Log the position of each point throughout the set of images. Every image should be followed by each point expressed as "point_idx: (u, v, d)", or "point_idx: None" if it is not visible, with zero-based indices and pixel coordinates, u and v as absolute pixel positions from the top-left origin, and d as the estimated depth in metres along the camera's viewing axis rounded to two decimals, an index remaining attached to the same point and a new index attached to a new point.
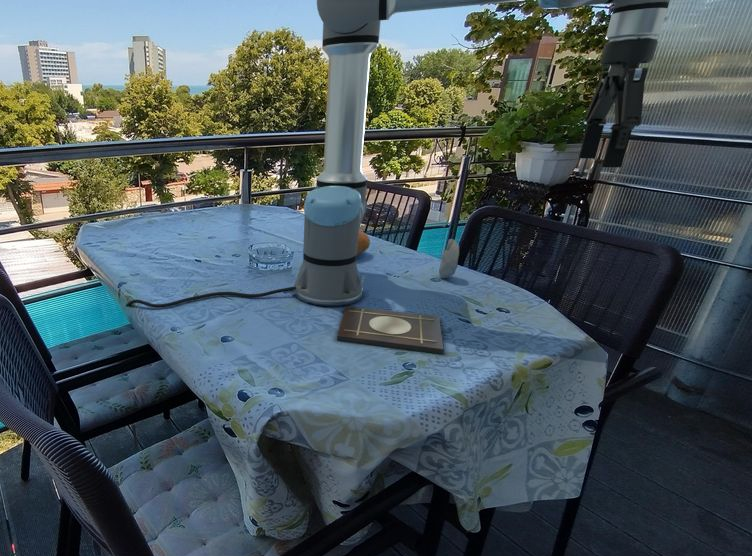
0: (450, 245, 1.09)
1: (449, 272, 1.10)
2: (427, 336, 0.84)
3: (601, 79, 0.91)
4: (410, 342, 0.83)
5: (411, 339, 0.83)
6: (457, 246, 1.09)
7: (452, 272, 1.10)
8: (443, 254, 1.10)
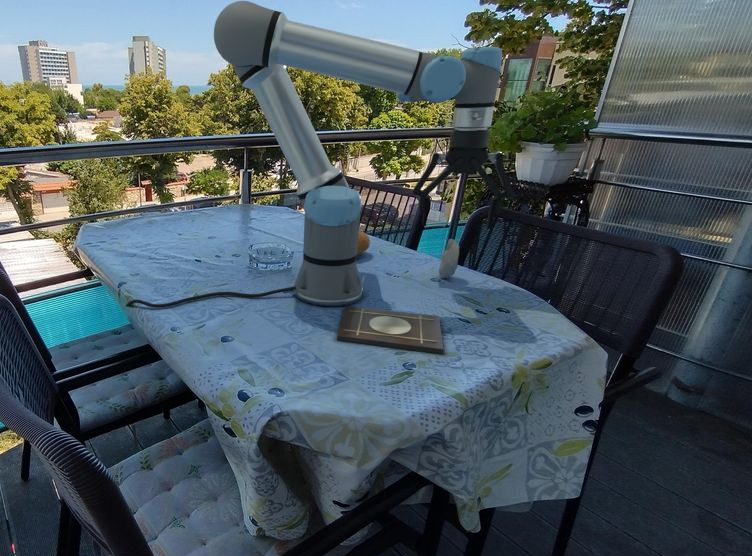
0: (450, 245, 1.09)
1: (449, 272, 1.10)
2: (427, 336, 0.84)
3: None
4: (410, 342, 0.83)
5: (411, 339, 0.83)
6: (457, 246, 1.09)
7: (452, 272, 1.10)
8: (443, 254, 1.10)
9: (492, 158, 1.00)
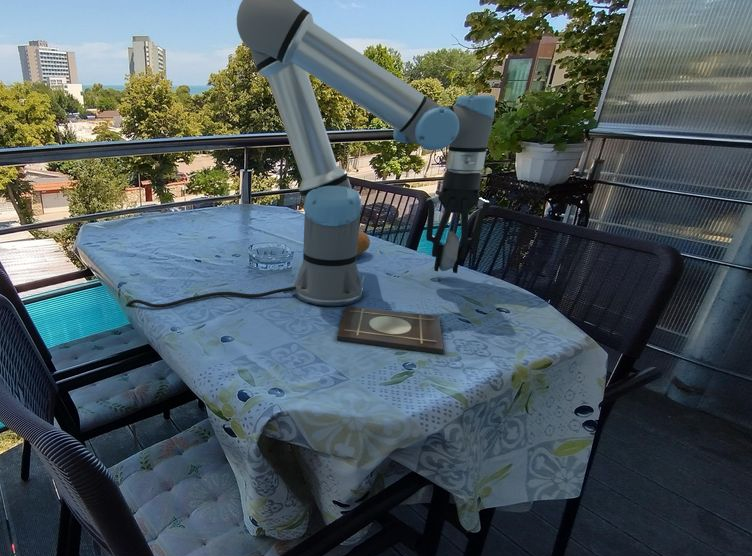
0: (450, 237, 1.08)
1: (448, 264, 1.10)
2: (427, 336, 0.84)
3: None
4: (410, 342, 0.83)
5: (411, 339, 0.83)
6: (457, 238, 1.08)
7: (452, 265, 1.09)
8: (443, 246, 1.10)
9: (480, 204, 1.04)
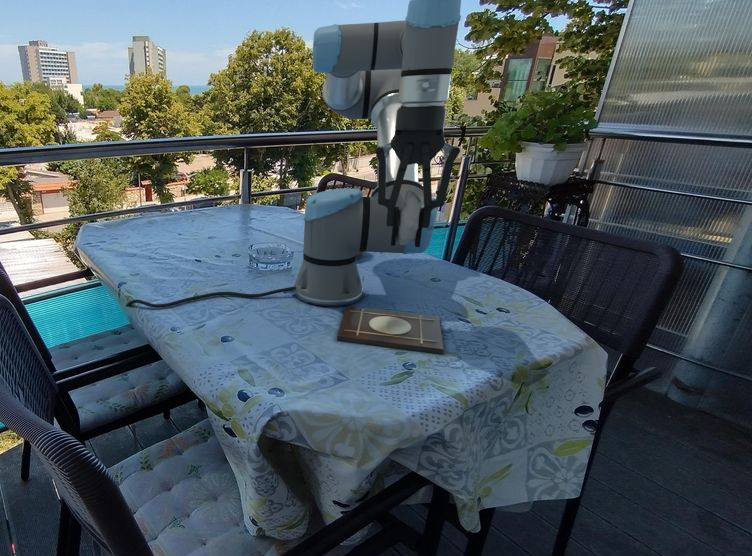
0: (408, 199, 0.80)
1: (408, 235, 0.82)
2: (427, 336, 0.84)
3: None
4: (410, 342, 0.83)
5: (411, 339, 0.83)
6: (418, 200, 0.80)
7: (412, 236, 0.82)
8: (400, 212, 0.82)
9: (446, 150, 0.76)
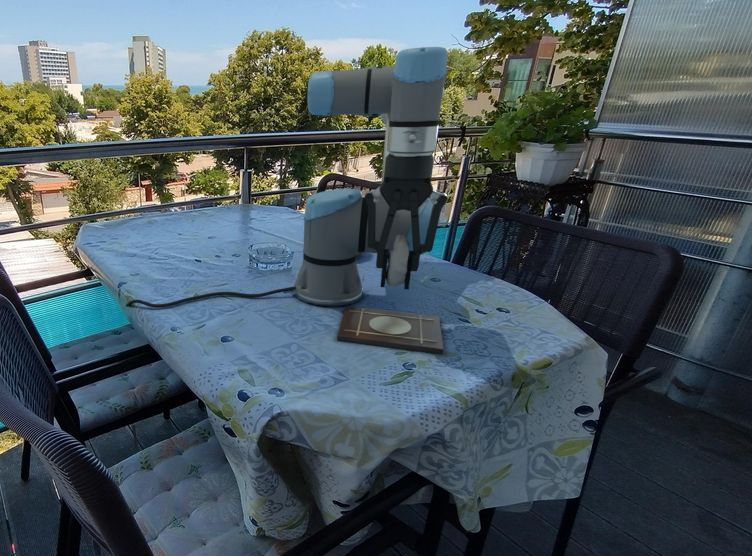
0: (397, 243, 0.82)
1: (397, 278, 0.83)
2: (427, 336, 0.84)
3: None
4: (410, 342, 0.83)
5: (411, 339, 0.83)
6: (406, 244, 0.82)
7: (401, 279, 0.83)
8: (389, 255, 0.83)
9: (434, 197, 0.77)
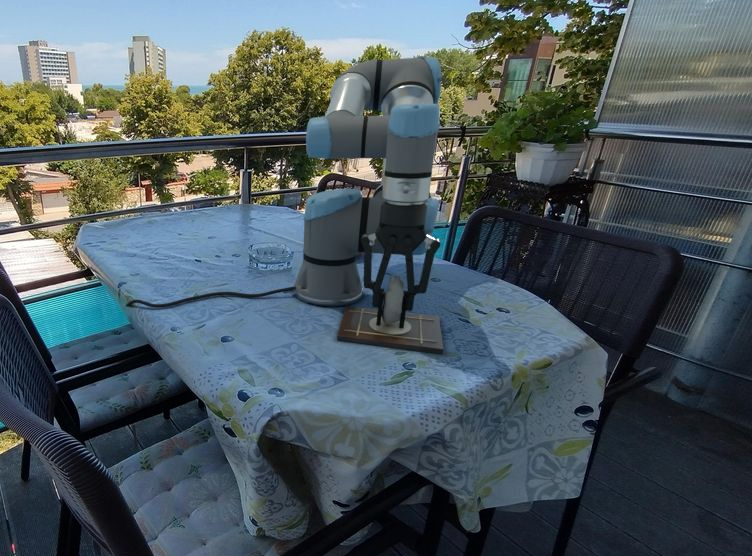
0: (392, 284, 0.85)
1: (392, 318, 0.86)
2: (427, 336, 0.84)
3: None
4: (410, 342, 0.83)
5: (411, 339, 0.83)
6: (401, 285, 0.85)
7: (396, 318, 0.86)
8: (385, 295, 0.86)
9: (428, 243, 0.80)
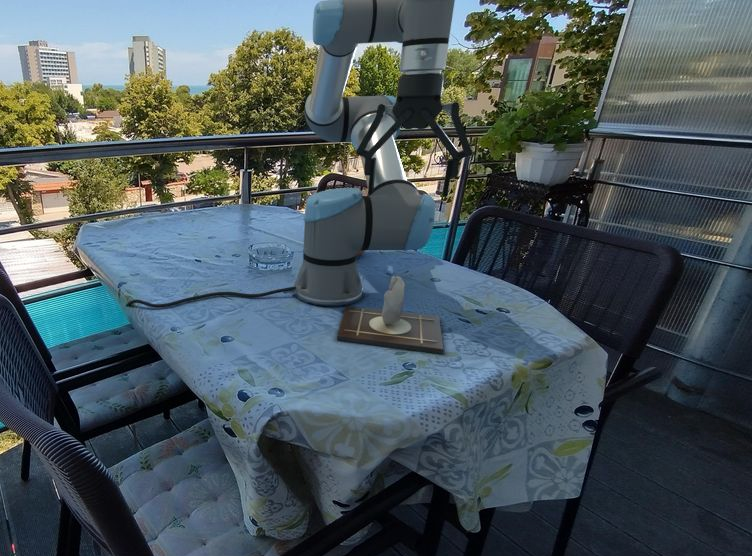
0: (393, 284, 0.85)
1: (392, 318, 0.86)
2: (427, 336, 0.84)
3: None
4: (410, 342, 0.83)
5: (411, 339, 0.83)
6: (402, 286, 0.85)
7: (396, 318, 0.86)
8: (385, 295, 0.86)
9: (447, 109, 0.82)
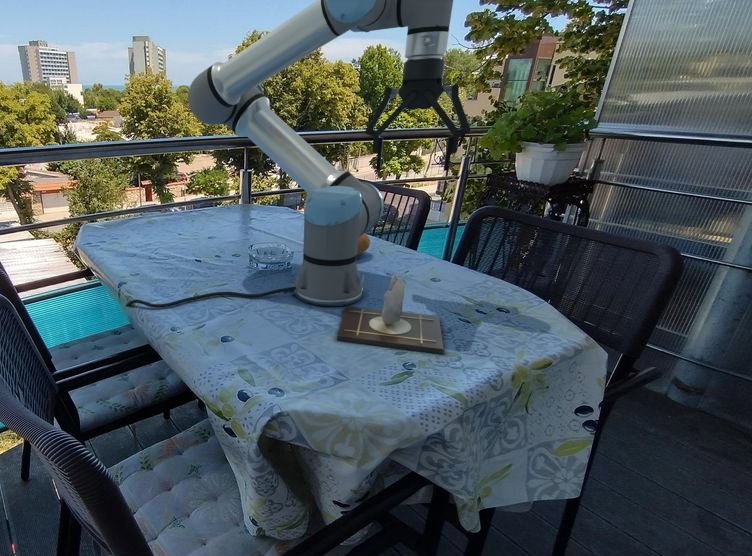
0: (393, 284, 0.85)
1: (392, 318, 0.86)
2: (427, 336, 0.84)
3: None
4: (410, 342, 0.83)
5: (411, 339, 0.83)
6: (402, 286, 0.85)
7: (396, 318, 0.86)
8: (385, 295, 0.86)
9: (448, 91, 0.92)
